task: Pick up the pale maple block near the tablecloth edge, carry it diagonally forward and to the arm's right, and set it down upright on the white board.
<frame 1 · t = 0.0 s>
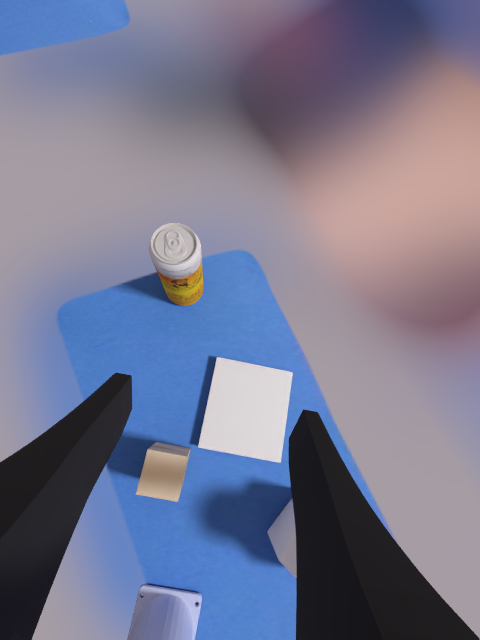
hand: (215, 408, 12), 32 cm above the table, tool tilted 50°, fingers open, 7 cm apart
maple block: (169, 463, 40), on the table
white board: (246, 407, 43), on the table
beer can: (185, 290, 47), on the table
medicine bottle: (300, 527, 40), on the table
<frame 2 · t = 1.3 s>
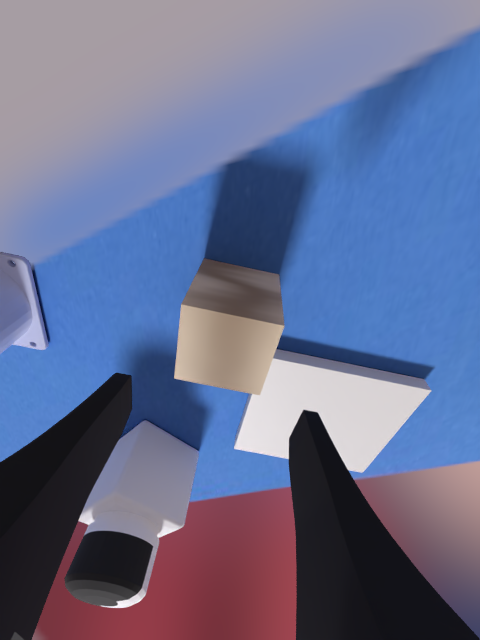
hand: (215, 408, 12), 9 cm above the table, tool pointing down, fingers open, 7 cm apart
maple block: (234, 298, 20), on the table
white board: (318, 411, 25), on the table
medicine bottle: (155, 446, 31), on the table
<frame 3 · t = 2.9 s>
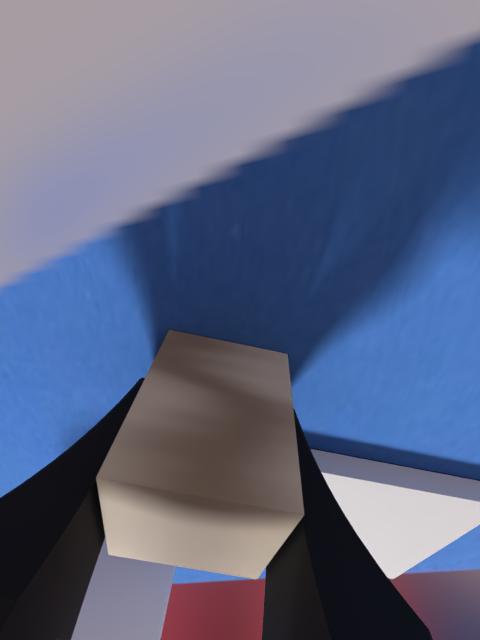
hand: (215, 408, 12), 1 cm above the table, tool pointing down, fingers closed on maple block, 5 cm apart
maple block: (219, 383, 13), on the table, touching gripper
white board: (337, 510, 19), on the table
medicine bottle: (124, 533, 24), on the table
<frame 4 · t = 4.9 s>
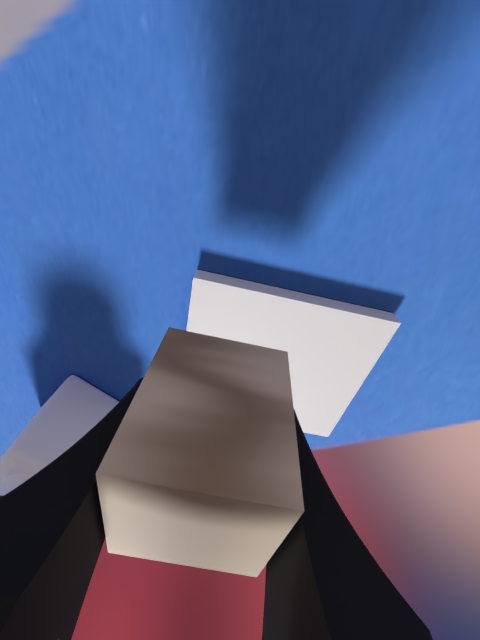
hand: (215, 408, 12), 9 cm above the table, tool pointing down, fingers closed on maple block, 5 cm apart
maple block: (219, 381, 13), point 7 cm above the table, touching gripper
white board: (272, 360, 21), on the table
medicine bottle: (92, 409, 26), on the table
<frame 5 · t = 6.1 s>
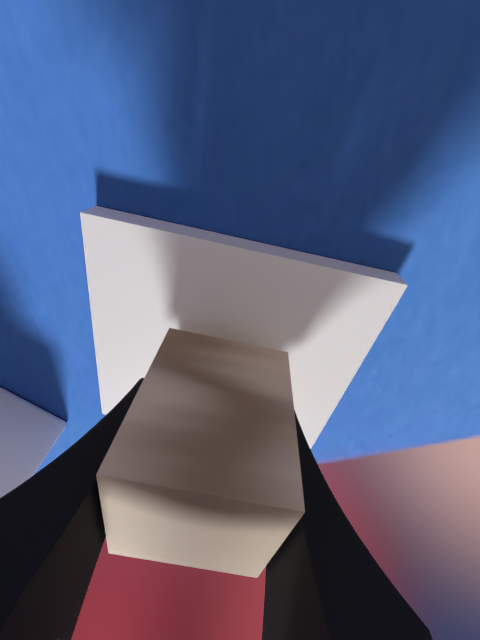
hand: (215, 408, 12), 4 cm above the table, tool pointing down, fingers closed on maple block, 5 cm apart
maple block: (219, 382, 13), point 3 cm above the table, touching gripper
white board: (225, 347, 15), on the table
medicine bottle: (5, 415, 20), on the table
when the fingers open (4 cm above the table, at t = 7.0 s): maple block drops 1 cm, resting on white board.
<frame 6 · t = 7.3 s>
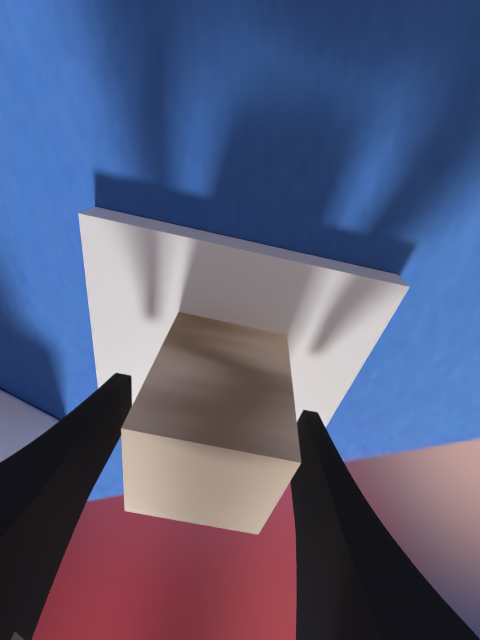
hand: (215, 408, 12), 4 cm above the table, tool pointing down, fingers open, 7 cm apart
maple block: (223, 364, 14), point 1 cm above the table, touching white board
white board: (225, 349, 15), on the table
medicine bottle: (4, 417, 20), on the table
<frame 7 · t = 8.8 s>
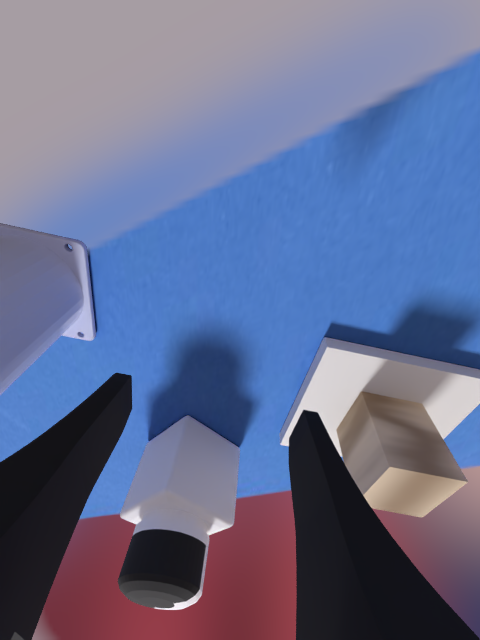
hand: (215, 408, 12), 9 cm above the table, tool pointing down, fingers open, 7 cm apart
maple block: (376, 417, 23), point 1 cm above the table, touching white board
white board: (371, 406, 24), on the table
medicine bottle: (193, 442, 30), on the table
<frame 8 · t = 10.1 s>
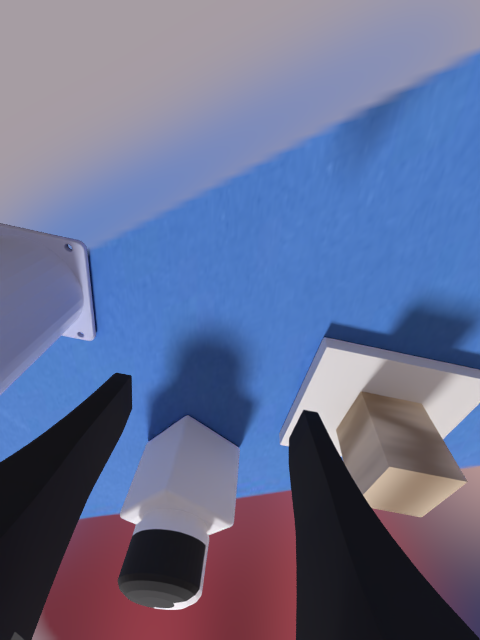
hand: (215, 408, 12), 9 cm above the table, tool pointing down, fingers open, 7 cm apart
maple block: (376, 417, 23), point 1 cm above the table, touching white board
white board: (371, 406, 24), on the table
medicine bottle: (193, 442, 30), on the table
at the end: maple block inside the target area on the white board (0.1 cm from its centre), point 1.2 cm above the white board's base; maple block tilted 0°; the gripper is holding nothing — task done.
